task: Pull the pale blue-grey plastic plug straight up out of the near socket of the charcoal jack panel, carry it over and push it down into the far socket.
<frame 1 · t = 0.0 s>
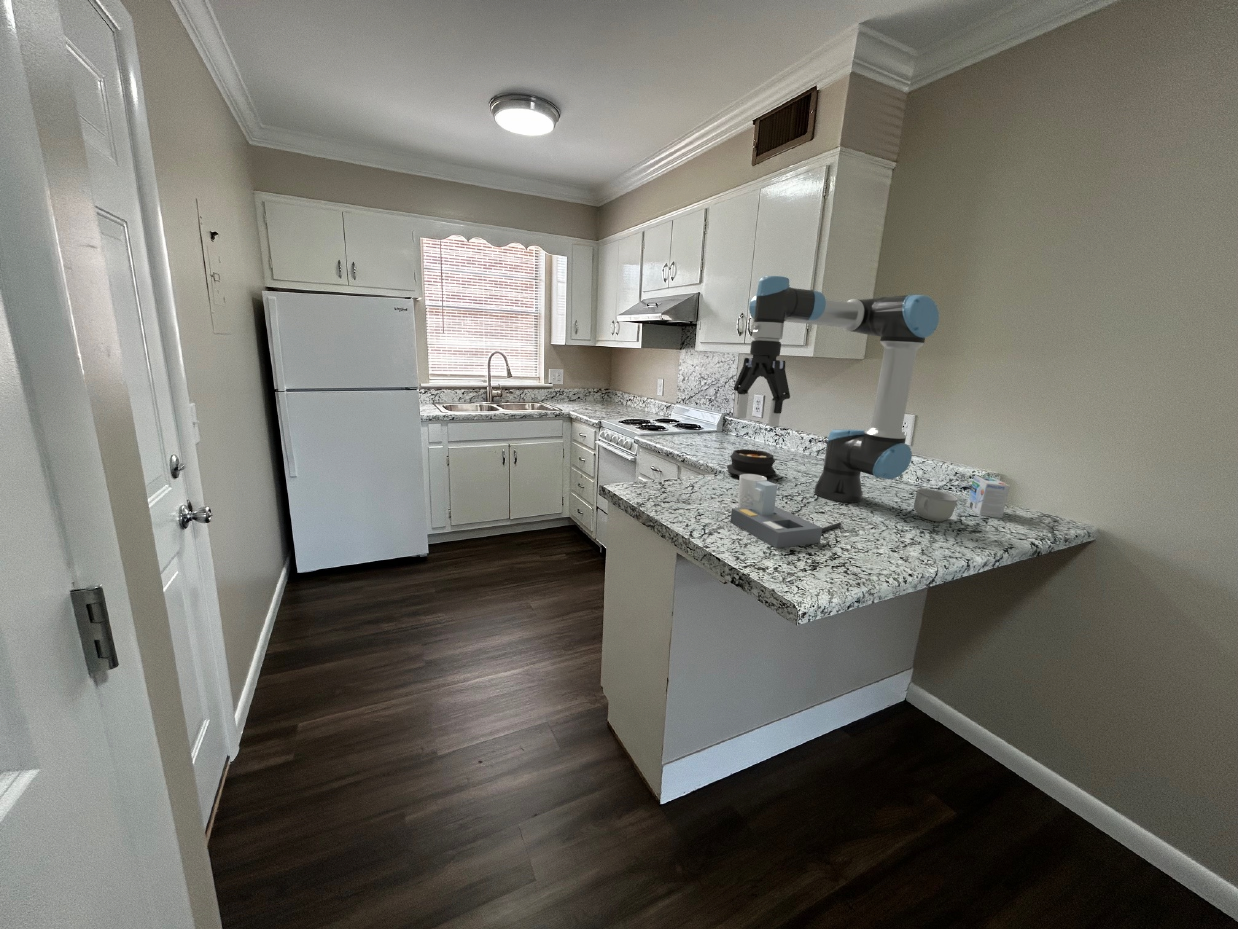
hand: (756, 421, 136), 28 cm above the worktop, fingers open, 13 cm apart
patch cord: (824, 530, 138), on the worktop
casserole: (750, 474, 198), on the worktop
jack panel: (773, 531, 135), on the worktop
light bulb box: (983, 512, 166), on the worktop
plug: (761, 525, 140), resting in jack panel
white cup: (749, 509, 154), on the worktop
teacup: (928, 519, 155), on the worktop
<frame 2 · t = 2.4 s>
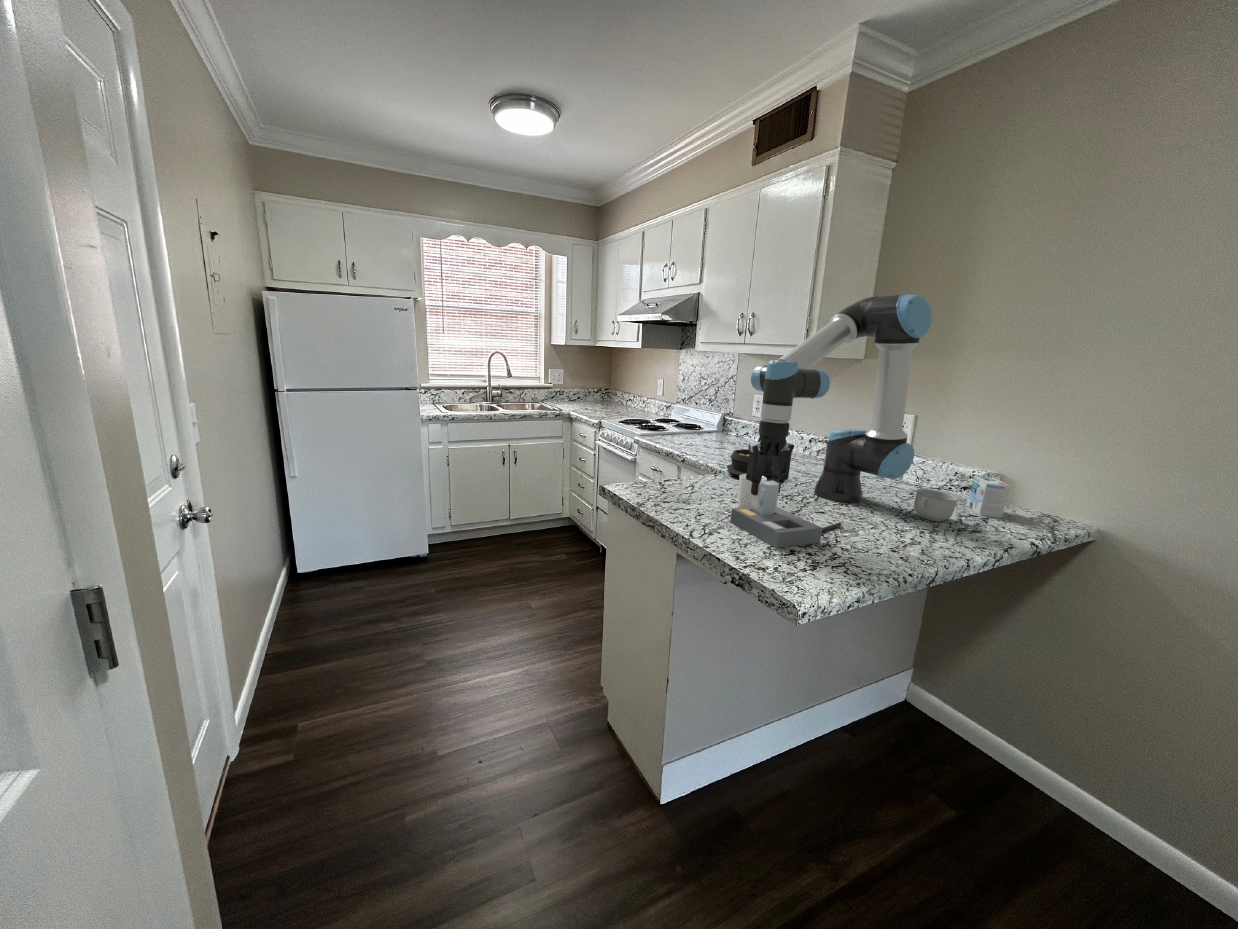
hand: (763, 505, 138), 6 cm above the worktop, fingers closed on plug, 5 cm apart
plug: (761, 525, 140), resting in jack panel, touching gripper
everything else where it was.
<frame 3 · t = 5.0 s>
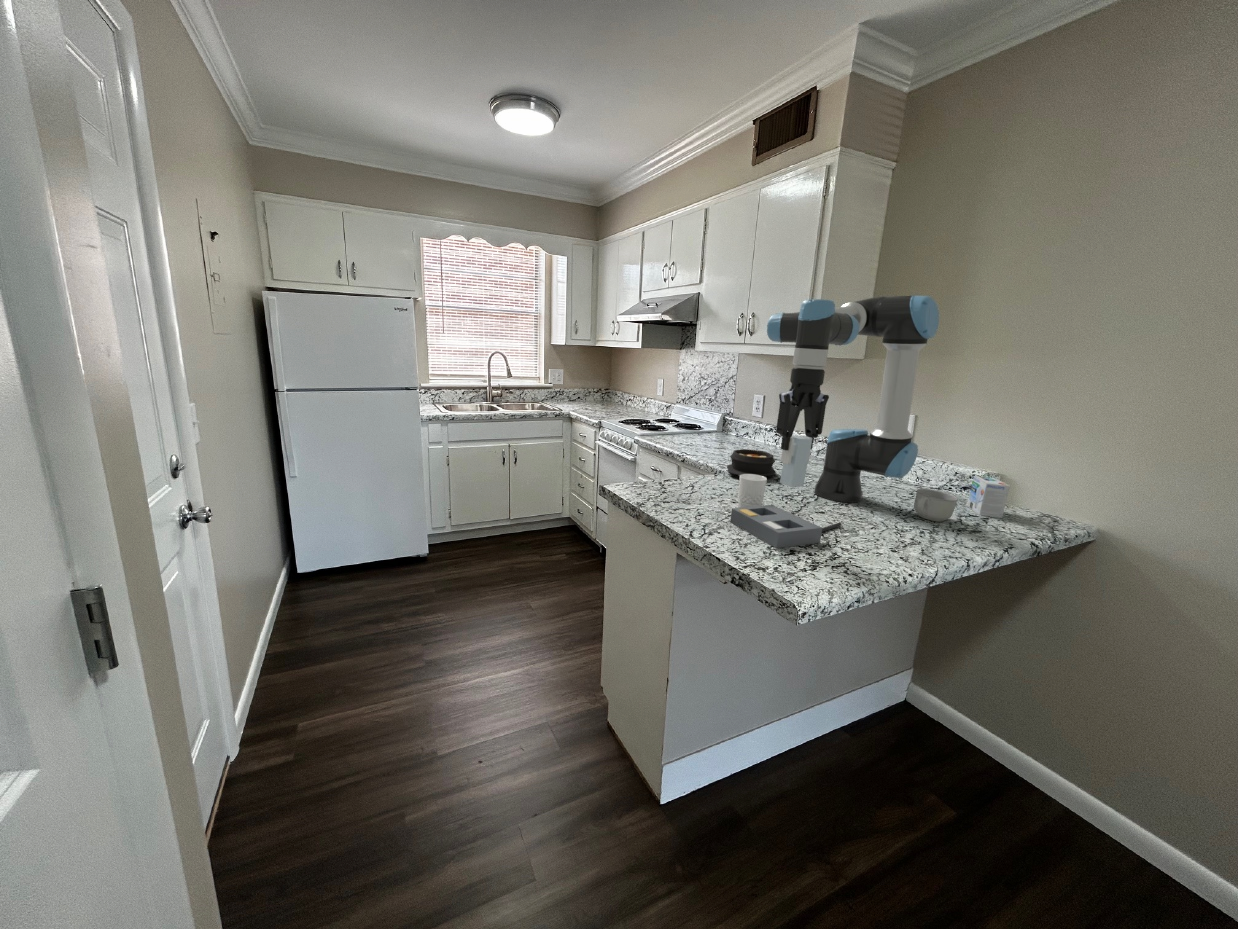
hand: (794, 462, 127), 20 cm above the worktop, fingers closed on plug, 5 cm apart
plug: (791, 484, 128), point 14 cm above the worktop, touching gripper
everything else where it was.
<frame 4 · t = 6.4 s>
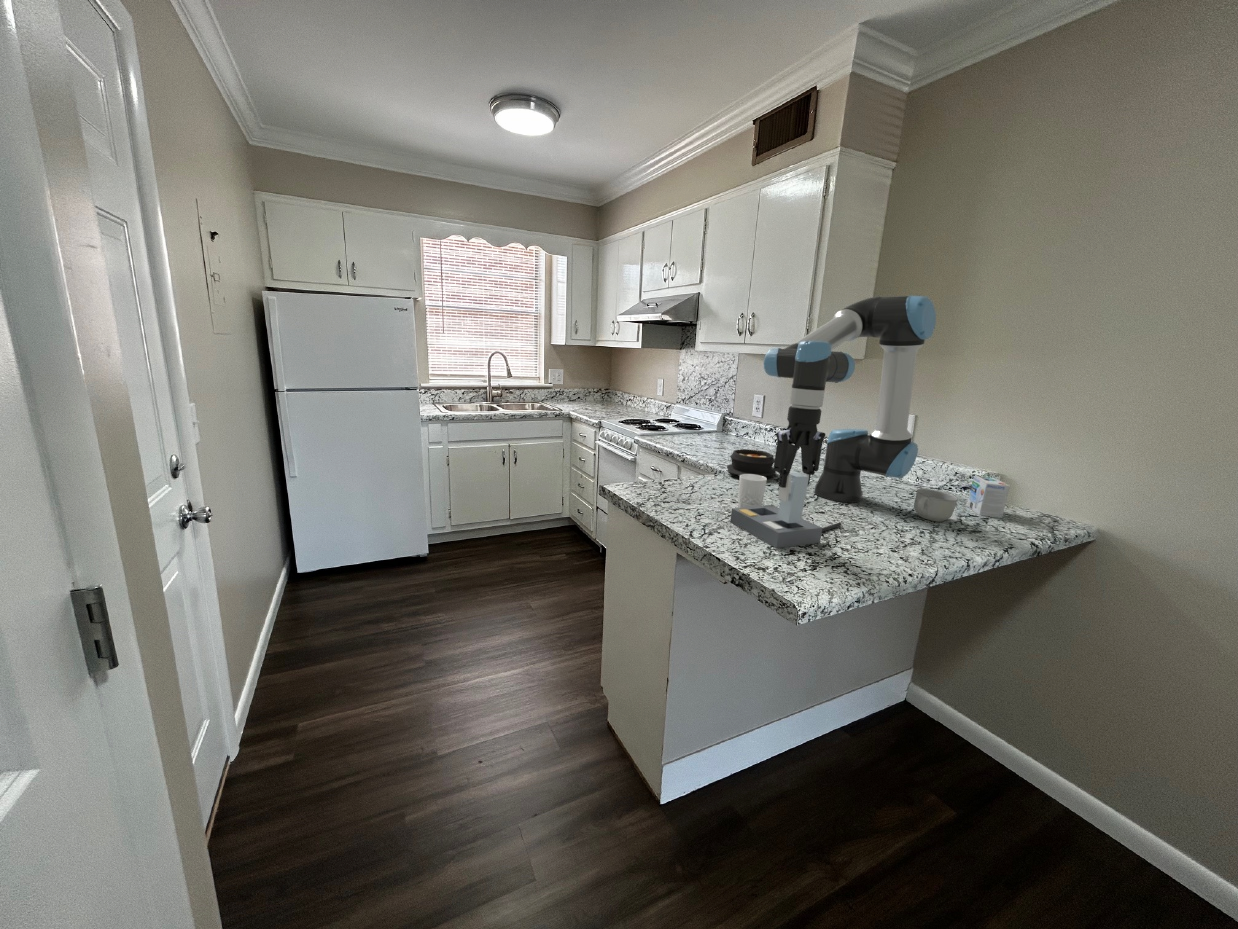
hand: (791, 498, 128), 11 cm above the worktop, fingers closed on plug, 5 cm apart
plug: (788, 520, 129), point 5 cm above the worktop, touching gripper
everything else where it was.
when the fingers open (7 cm above the worktop, at t = 7.4 s): plug drops 1 cm, resting in jack panel.
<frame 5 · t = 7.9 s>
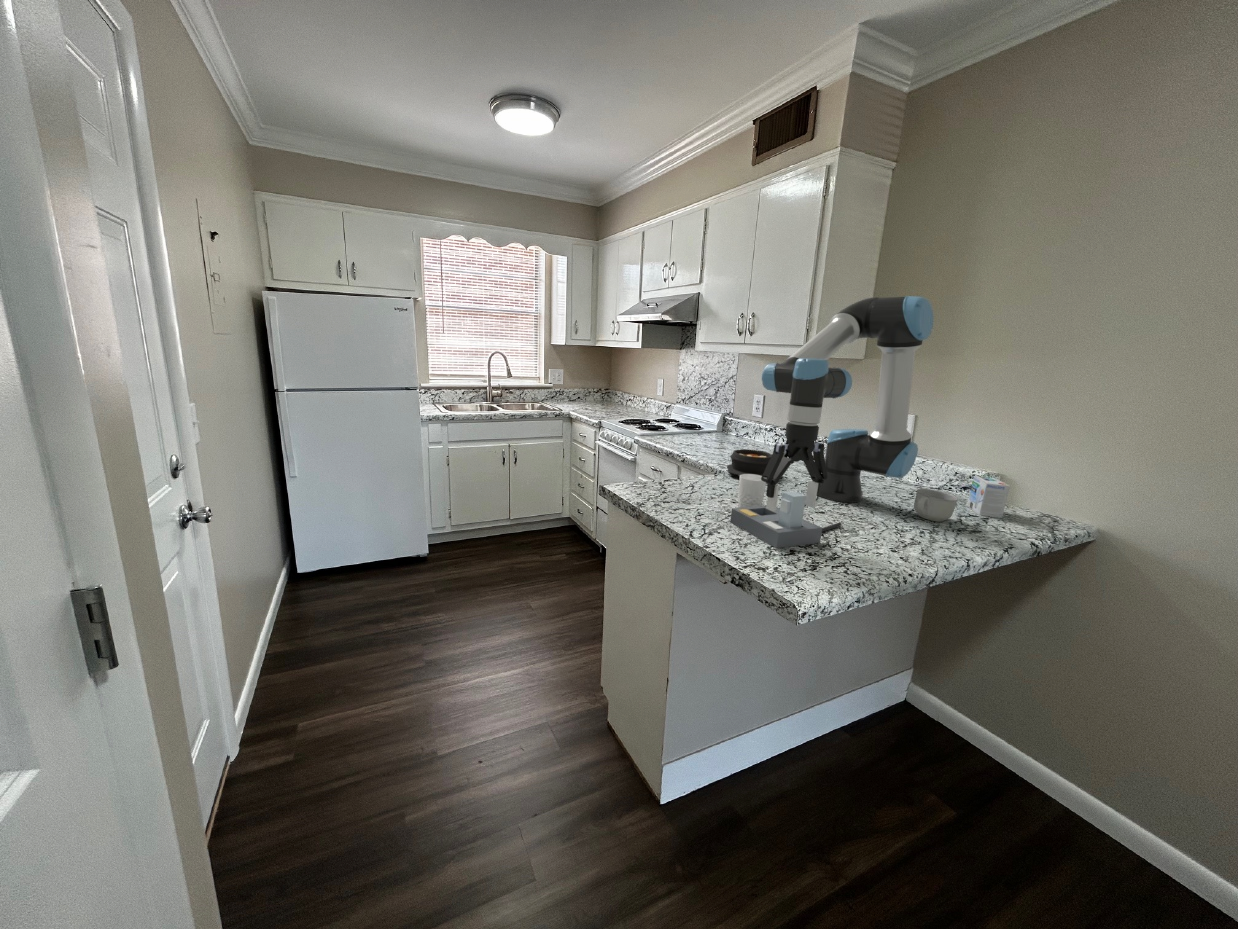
hand: (790, 508, 129), 8 cm above the worktop, fingers open, 12 cm apart
plug: (787, 538, 131), resting in jack panel
everything else where it was.
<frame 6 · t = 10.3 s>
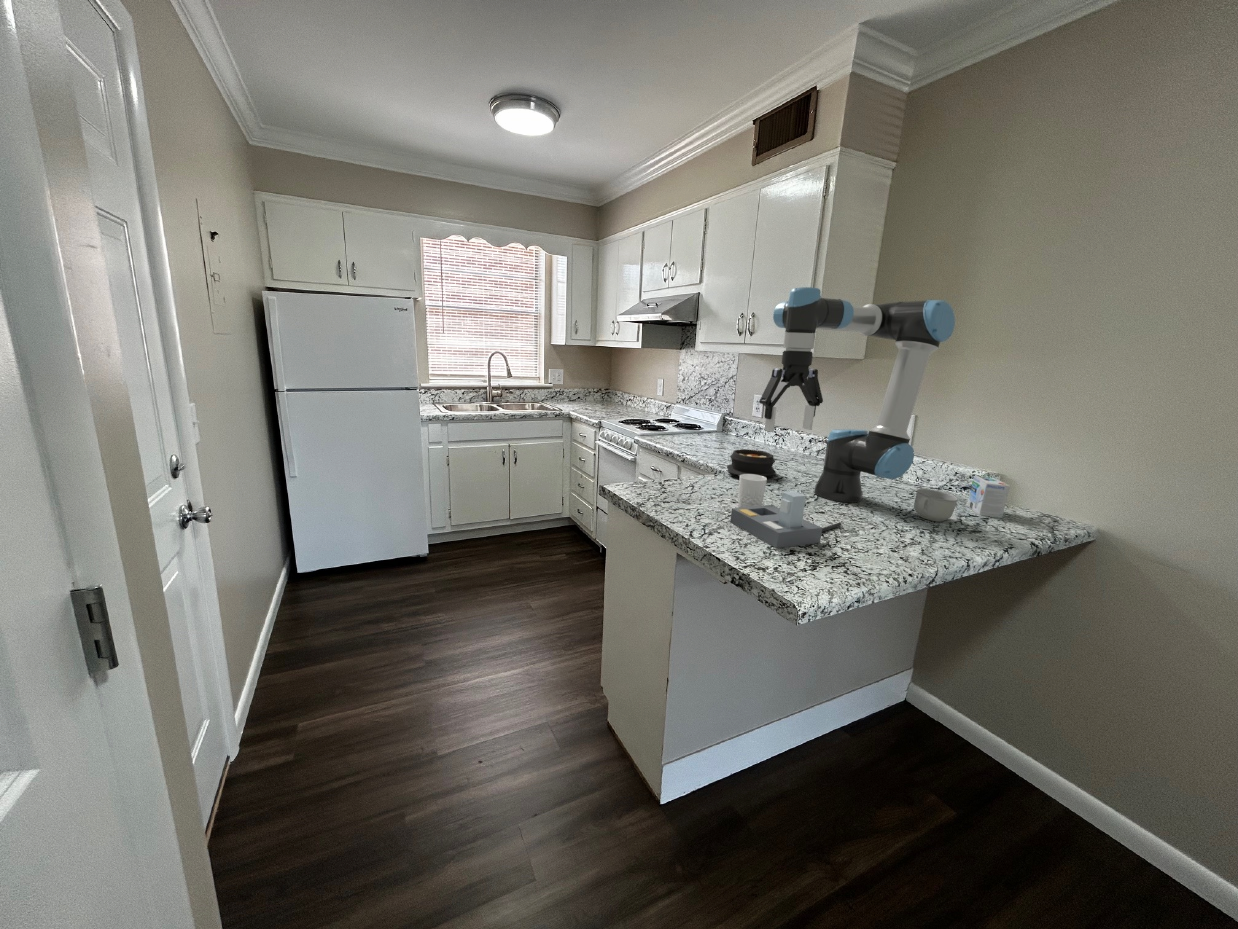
hand: (788, 430, 138), 26 cm above the worktop, fingers open, 13 cm apart
nothing on the worktop moved.
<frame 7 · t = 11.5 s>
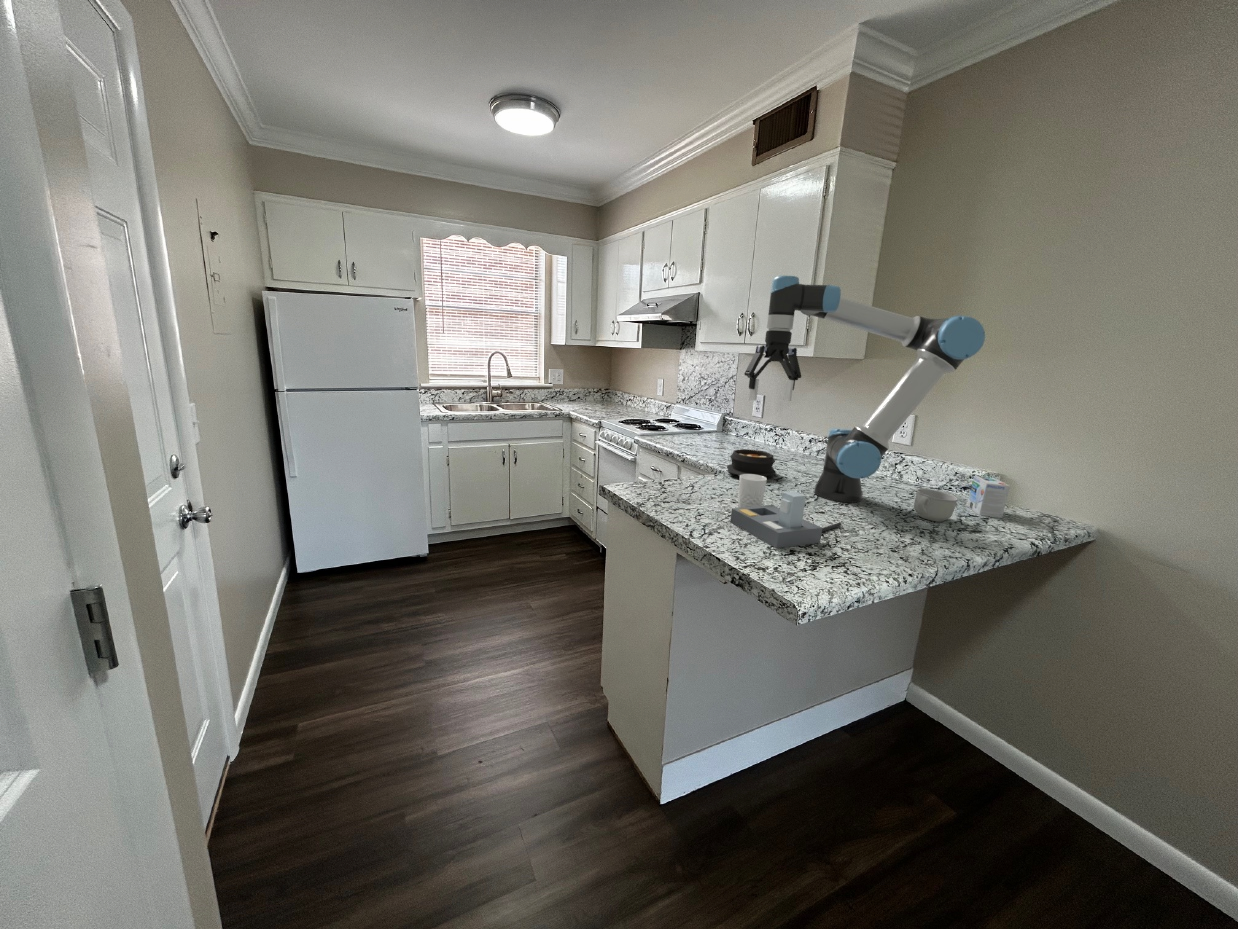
hand: (770, 400, 159), 32 cm above the worktop, fingers open, 13 cm apart
nothing on the worktop moved.
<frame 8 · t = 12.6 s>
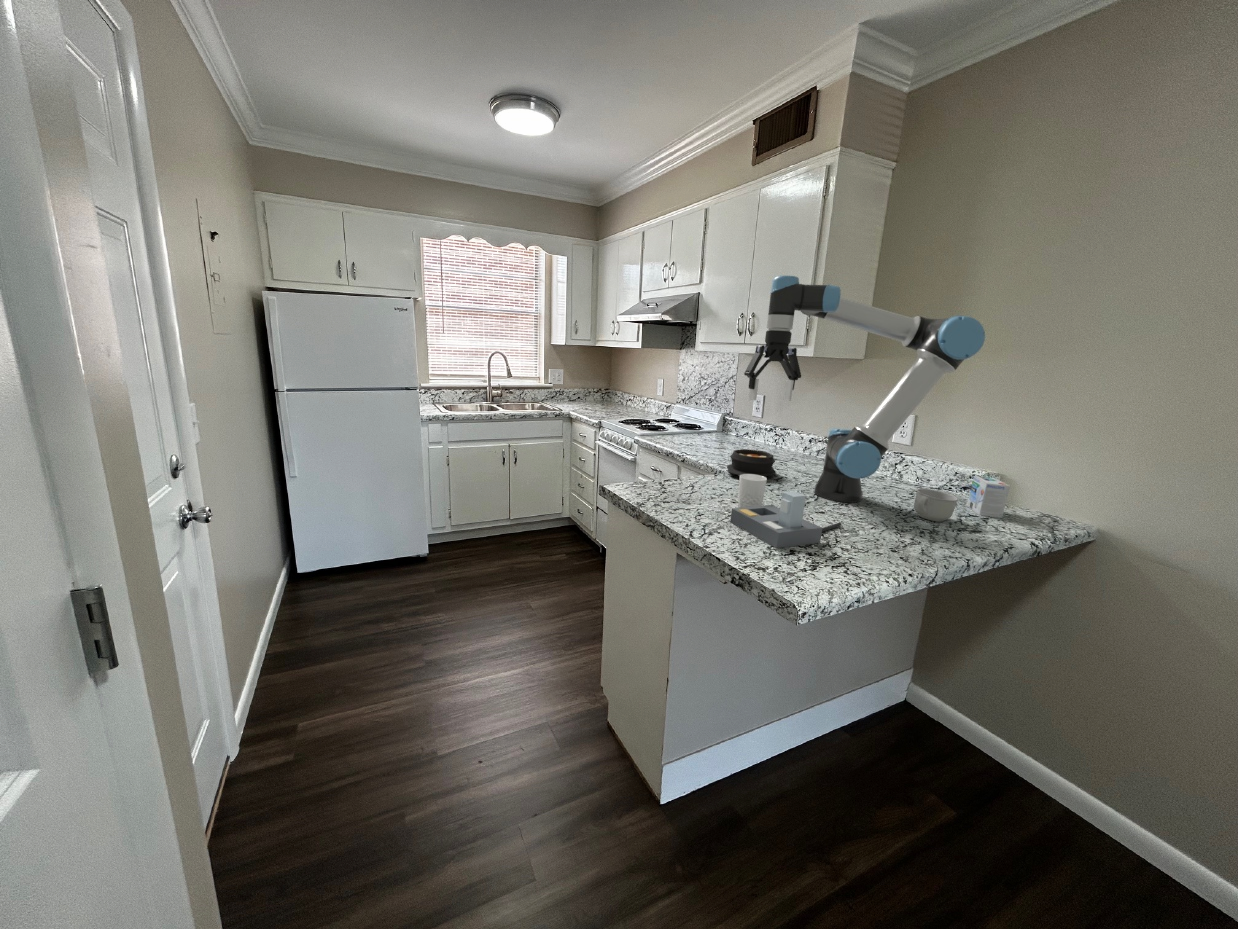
hand: (770, 400, 160), 32 cm above the worktop, fingers open, 13 cm apart
nothing on the worktop moved.
at the end: plug 0.5 cm from the target spot on the jack panel, point 0.0 cm above the jack panel's base; plug tilted 0°; the gripper is holding nothing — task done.
